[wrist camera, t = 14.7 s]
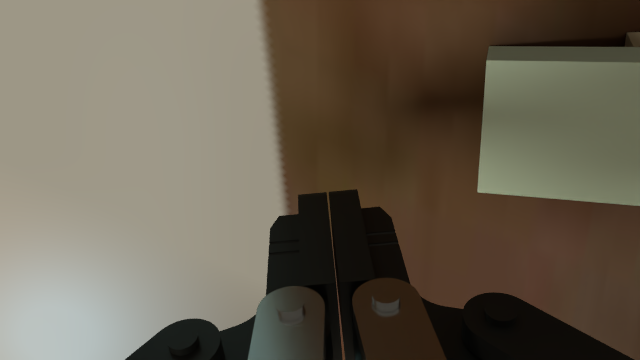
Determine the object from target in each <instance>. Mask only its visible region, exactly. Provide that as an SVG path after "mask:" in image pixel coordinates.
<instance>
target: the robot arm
mask: <svg viewBox="0 0 640 360" xmlns="http://www.w3.org/2000/svg"><path fill="white" fill-rule="evenodd" d="M329 201H330V213H331V225H332V237H333V248H334V259H335V268H334V259H333V250H332V240H331V231H330V221H329V212H328V203H327V193H326V192H324V193H313V194H302V195H298V209H299V214H296V215H285V216H279V217H278V218H277V220H276V221H275V223H274V224H273V226H272V227H271V228H270V242H269V243H270V245H269V257H268V258H269V259H268V273H267V289H266V296H265V297H264V298H263V300H262V301H261V302H260V304H259V306H258V308H257V312H256V315H254V316H253V317H252V318H251V319H249V320H248V321H246V322H244V323H242V324H239V325H237V326H235V327H231V328H228V329H226V330H223V331H220V332H219V330H218V328H217V327H216V326H215V325H214V324H212V323H211V322H209V321H206V320H202V319H186V320H181V321H178V322H175V323H173V324H171V325H169V326H167V327H165V328H164V329H162V330H161V331H160V332H158V333H157V334H156V335H155V336H154V337H152V338H151V339H150V340H149V341H147V342H146V343H145V344H144V345H142V346H141V347H140V348H139V349H137V350H136V351H135V352H134V353H133V354H131V355H130V356H129V357H128V358H126V359H125V360H342V348H341V336H340V324H339V312H338V300H337V288H336V278H337V287H338V296H339V305H340V315H341V324H342V333H343V342H344V351H345V360H634V359H632V358H630V357H628V356H626V355H624V354H623V353H621V352H619V351H617V350H615V349H613V348H611V347H609V346H608V345H606V344H604V343H602V342H600V341H598V340H596V339H594V338H592V337H591V336H589V335H587V334H585V333H583V332H581V331H579V330H577V329H576V328H574V327H572V326H570V325H568V324H566V323H564V322H562V321H561V320H559V319H557V318H555V317H553V316H551V315H549V314H547V313H546V312H544V311H542V310H540V309H538V308H536V307H534V306H532V305H530V304H529V303H527V302H525V301H523V300H521V299H519V298H517V297H515V296H512V295H508V294H504V293H484V294H480V295H477V296H475V297H473V298H471V299H470V300H469V301H468V302H467V303H466V304H465V306H464V309H458V308H452V307H445V306H440V305H437V304H434V303H431V302H429V301H427V300H425V299H423V298H422V297H420V295H419V293H418V291H417V290H416V289H415V288H414V287H413V286H412V285H411V284H410V281H409V278H408V274H407V271H406V267H405V264H404V260H403V257H402V253H401V250H400V246H399V244H398V239H397V236H396V233H395V229H394V225H393V222H392V218H391V217H390V216H389V215H388V214H387V213H386V212H385V211H384V210H383V209H382V208H380V207H372V208H361V206H360V201H359V196H358V191H357V189H356V190H345V191H334V192H329ZM335 269H336V278H335Z"/></svg>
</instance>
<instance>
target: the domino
mask: <svg viewBox="0 0 640 360" xmlns="http://www.w3.org/2000/svg"><path fill="white" fill-rule="evenodd" d="M478 192H481V193H493V194H505V195H516V196H528V197H540V198H552V199H564V200H576V201H587V202H599V203H611V204H623V205H635V206H640V47H548V46H489V49H488V55H487V60H486V75H485V90H484V104H483V119H482V133H481V148H480V163H479V177H478Z"/></svg>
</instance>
